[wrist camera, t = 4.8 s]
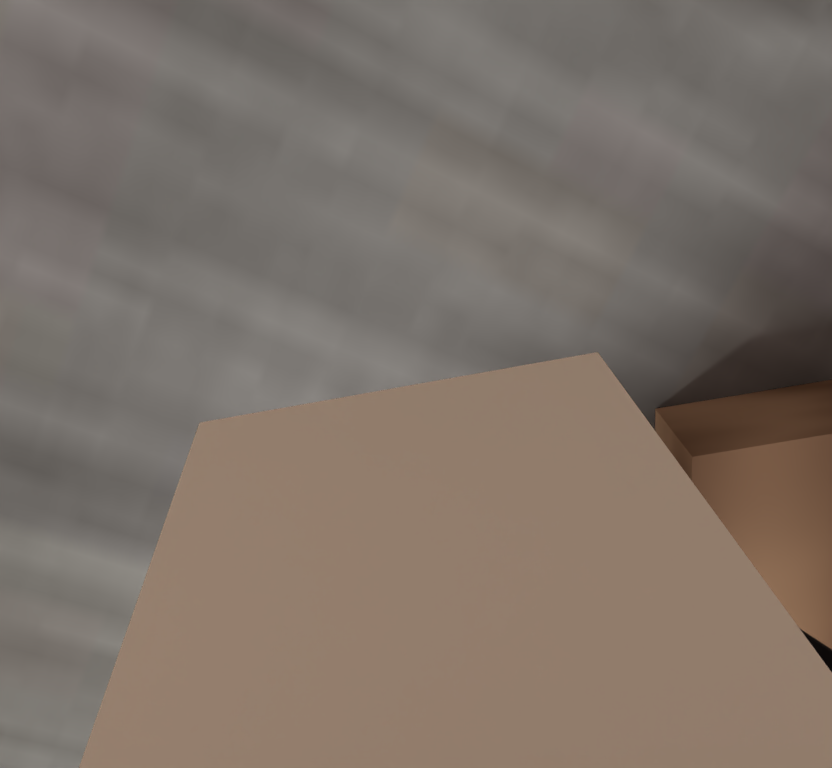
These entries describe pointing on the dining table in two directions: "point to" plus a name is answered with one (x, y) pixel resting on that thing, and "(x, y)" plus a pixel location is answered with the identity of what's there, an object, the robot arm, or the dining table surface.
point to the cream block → (456, 595)
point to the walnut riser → (768, 486)
